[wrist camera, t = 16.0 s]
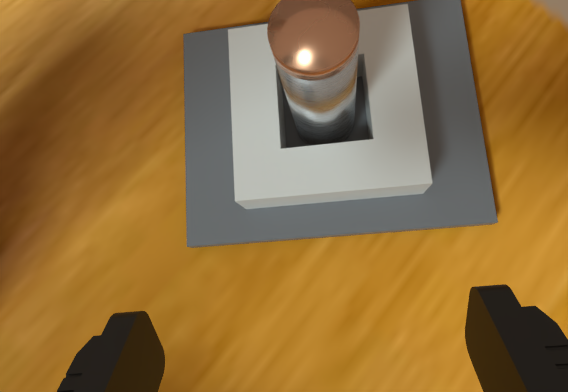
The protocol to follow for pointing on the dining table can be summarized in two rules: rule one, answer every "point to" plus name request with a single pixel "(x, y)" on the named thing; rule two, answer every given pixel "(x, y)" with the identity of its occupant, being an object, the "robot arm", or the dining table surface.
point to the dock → (352, 218)
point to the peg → (317, 65)
